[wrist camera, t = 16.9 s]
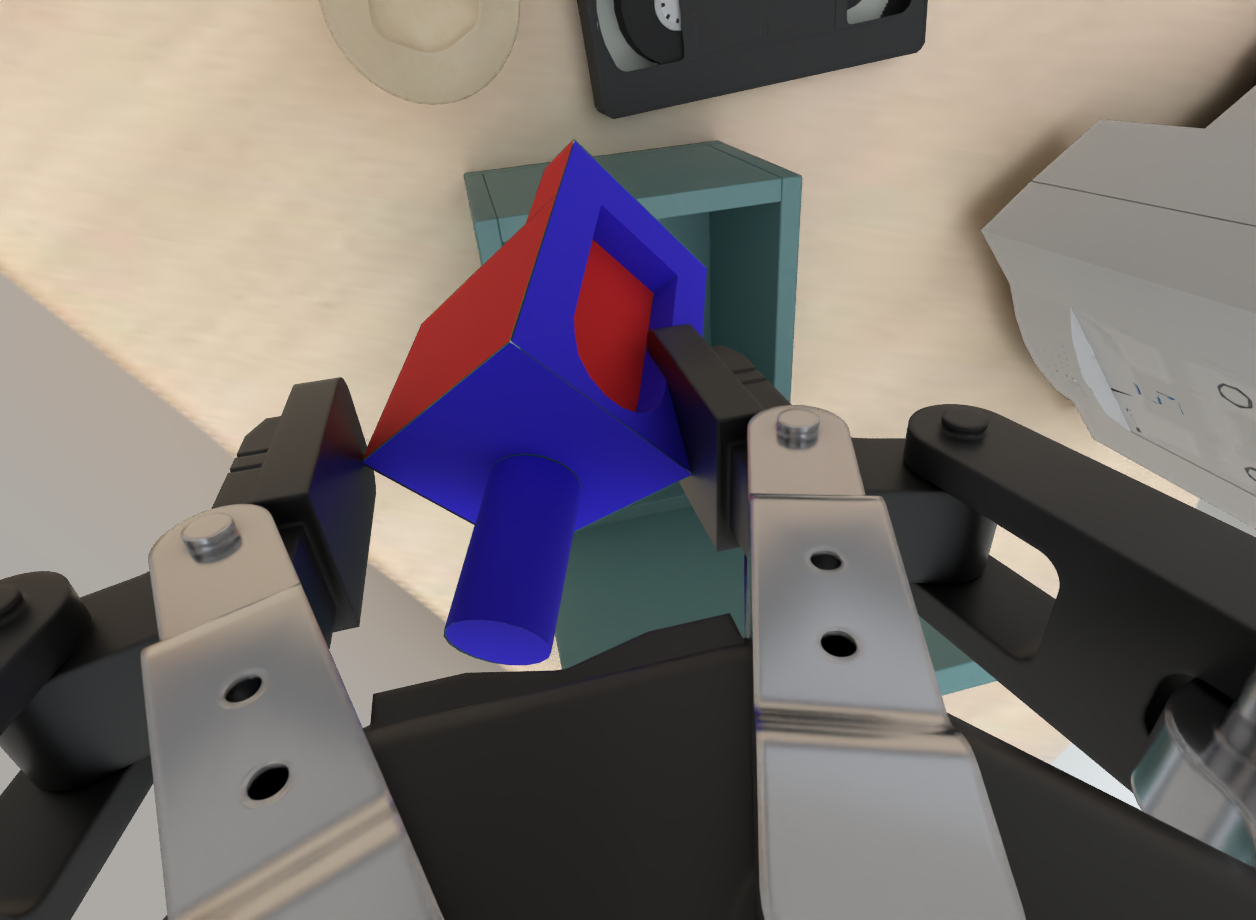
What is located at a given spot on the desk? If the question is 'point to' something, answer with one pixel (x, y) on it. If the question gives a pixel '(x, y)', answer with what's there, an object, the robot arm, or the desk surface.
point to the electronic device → (1148, 294)
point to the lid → (677, 591)
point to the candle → (425, 43)
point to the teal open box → (691, 248)
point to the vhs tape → (733, 45)
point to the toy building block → (543, 399)
